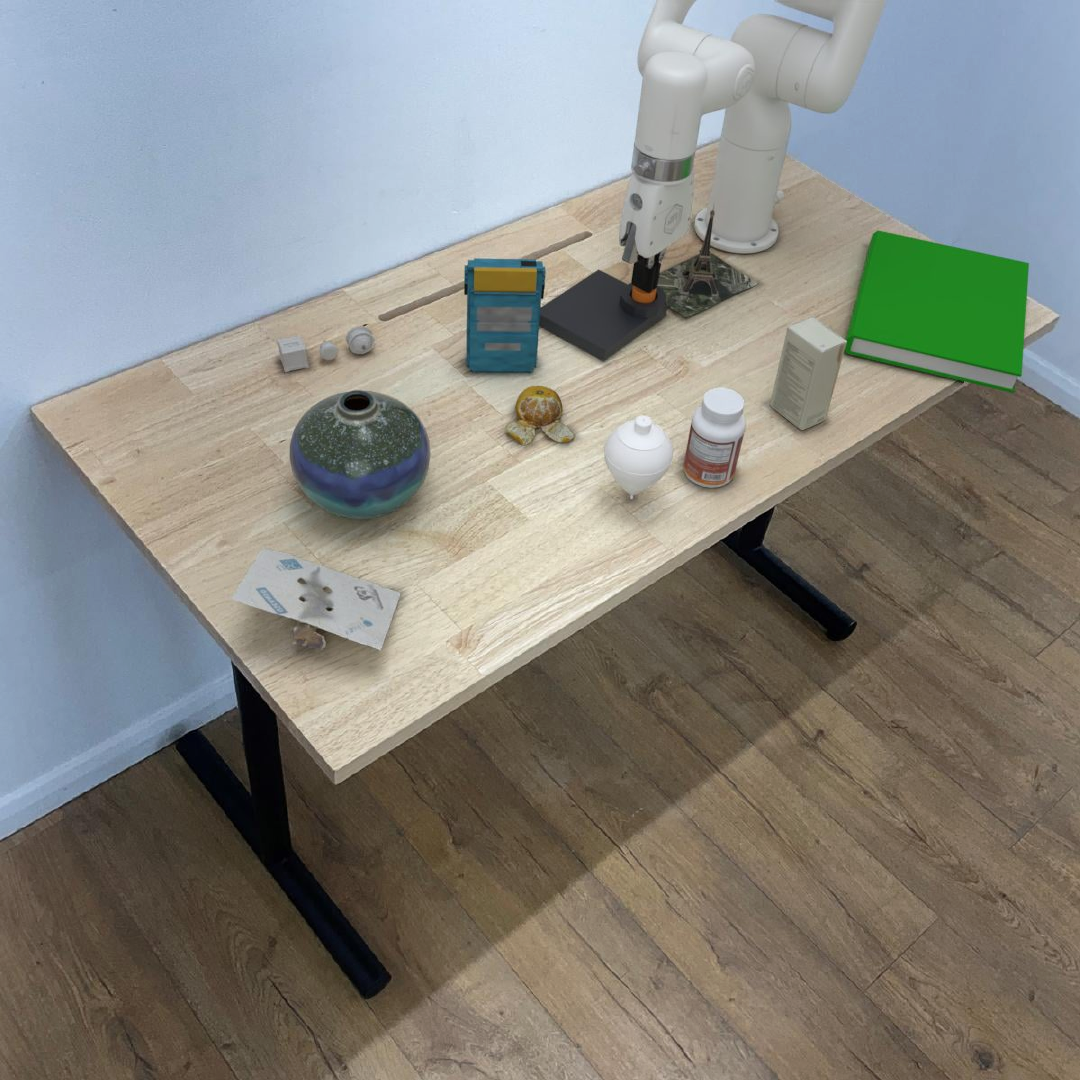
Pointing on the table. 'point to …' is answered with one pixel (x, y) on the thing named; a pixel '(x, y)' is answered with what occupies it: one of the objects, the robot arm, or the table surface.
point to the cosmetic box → (807, 372)
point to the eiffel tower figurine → (701, 280)
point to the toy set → (322, 348)
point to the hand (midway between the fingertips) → (643, 286)
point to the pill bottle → (715, 438)
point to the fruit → (538, 416)
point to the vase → (360, 454)
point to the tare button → (643, 295)
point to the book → (941, 311)
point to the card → (318, 599)
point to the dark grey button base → (601, 314)
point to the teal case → (503, 314)
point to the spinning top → (638, 454)
